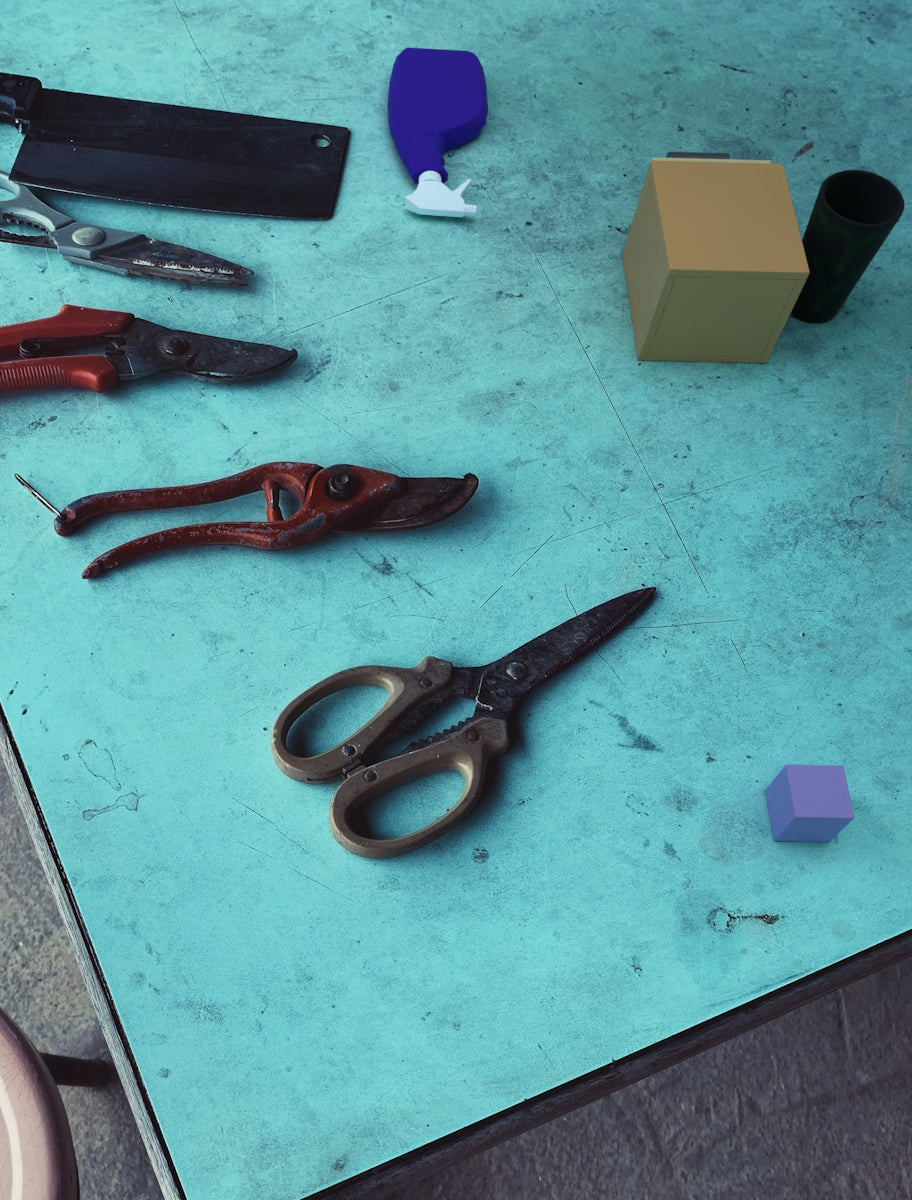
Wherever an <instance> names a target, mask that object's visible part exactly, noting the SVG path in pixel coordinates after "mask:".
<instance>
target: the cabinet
mask: <svg viewBox="0 0 912 1200" xmlns="http://www.w3.org/2000/svg"><path fill="white" fill-rule="evenodd" d="M638 198H639V199H638V201H637V205H636V208H635V212H634V215H633V218H632V221H631V225H630V229H629V232H628V234H627V238H626V240H625V241H626V242H625V244H624V248H623V251H622V254H621V255H622V264H623V269H624V275H625V282H626V289H627V297H628V302H629V303H628V304H629V309H630V315H631V323H632V330H633V336H634V343H635V350H636V355H637V357H636V358H637V361H657V362H659V361H660V362H695V363H697V362H698V363H699V362H700V363H703V362H704V363H739V364H741V363H744V364H747V363H748V364H768V362H769V360H770V357H771V355H772V353H773V351H774V349H775V347H776V345H777V342H778V340H779V338H780V336H781V334H782V332H783V330H784V327H785V326H786V323H787V322H788V319H789V318H790V316H791V314H790V313H791V311H792V309H793V307H794V305H795V303H796V301H797V298H798V296H799V294H800V292H801V290H802V288H803V286H804V284H805V282H806V279H807V277H808V275H809V273H810V272H809V268H808V263H807V259H806V255H805V251H804V247H803V243H802V239H803V238H802V235H801V231H800V227H799V222H798V219H797V215H796V211H795V207H794V203H793V198H792V194H791V190H790V187H789V183H788V178H787V174H786V170H785V166H784V164H783V163H771V164H769V163H732V162H694V161H657V160H652V159H651V160H650V162H649V165H648V168H647V172H646V174H645V178H644V182H643V185H642V188H641V192H640V195H639V197H638Z"/></svg>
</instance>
